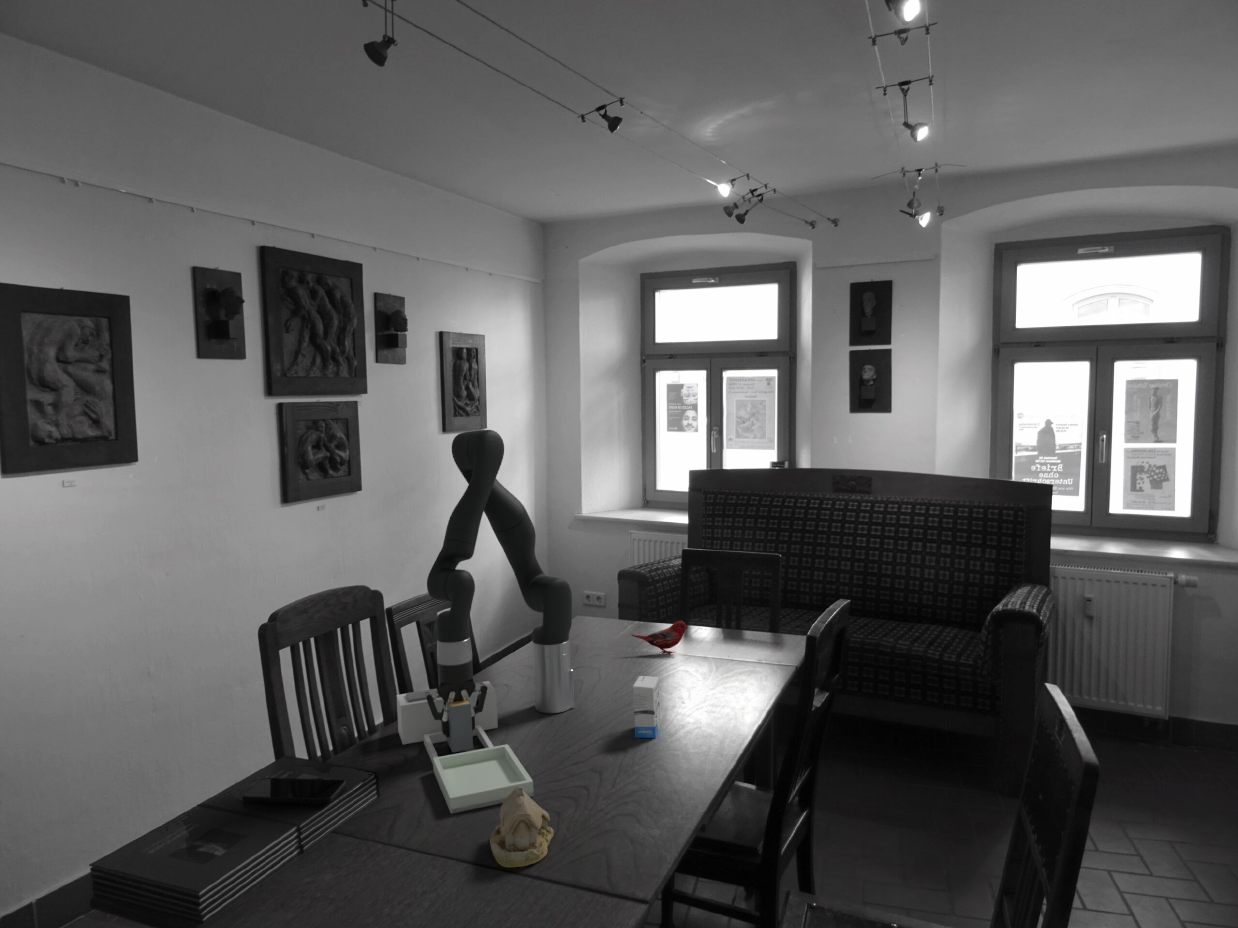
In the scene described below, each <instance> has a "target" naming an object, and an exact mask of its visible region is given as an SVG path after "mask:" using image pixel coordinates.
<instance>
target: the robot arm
mask: <svg viewBox="0 0 1238 928" xmlns="http://www.w3.org/2000/svg"><path fill="white" fill-rule="evenodd" d="M451 454H452V459H453V461H454V463H455V465H456V467H457V468H458V471H459V472H460V473H461V475H462V477H463V478H464V480H465V481H466V483H467V484H468V485H467V486H466V490H465V491H464V493H463V494H462V497H461V498H460V499H459V500H458V502H457V503H456V505H455V507H454V509H453V510H452V512H451V514H450V517H449V519H448V522H447V526H446V529H445V534H444V539H443V544H442V547H441V548H440V549H441V550H440V551H439V553H438V554H437V557H436V559H435V561H434V563H433V565H432V566H431V569H430V571H429V573H428V576H427V579H426V588H427V592H428V594H429V595H428V596H430V597H431V598H432V599H433V600H436V601H443V602H444V601H446V602H451V605H450V609H448V610H445V611H442V612H440V613H439V614H438V615H437V617H436V639H437V641H436V642H437V644H436V645H437V646H436V657H437V659H436V660H437V661H436V662H437V678H438V679H437V680H438V684H437V687H436V688H437V690H435V691H433V692H426V693H425V697H426V699H427V702H428V705H429V707H430V710H431V713H432V715H433V717H434V719H435V720H441V724H442V732H443V734H444V735H445V736H446V737H450V735H449V721H448V716H449V715H448V711H449V709H448V704H451V703H453V702H457V701H463V700H464V701H469V702H470V699H469V698H470V696H471V694H472V693H473V691H474V690H475V689H476V692H477V693H478V696H477V700H476V705H475V706H474V707H472V704H471V702H470V704H471V717H472V733H473V730H475V715H476V714H477V713H479V712H482V711H483V707H484V702H485V698H486V694H487V689H488V688H487V686H486V685H485V684H484V683H481V684H475V681H474V673H473V672H474V671H473V652H472V651H473V650H472V643H471V637H470V636H471V635H470V633H471V632H470V615H471V610H472V606H473V601H474V596H475V591H476V584H475V580H474V577H473V575H472V573H470V572H469V571H468V570H467V569H466V570H465V569H459V568H458V569H457V567H458V566H459V564H460V563H461V562H464V561H468V560H470V559H472V558H473V556H474V554H475V549H476V543H477V539H478V535H479V529H480V526H481V520H482V519H483V514H484V515H485V516H486V518H487V520H488V522H489V524H490V528H491V529H492V531H493V533H494V536H495V537H496V539H497V541H498V543H499V544H500V546H501V548H502V550H503V553H504V554H505V558H507V561H508V563H509V565H510V567H511V569H512V572H513V573H514V576H515V578H516V581H517V584H518V586H519V589H520V593H521V596H522V597H523V600H524V602H525V604H526V606H527V607H528V608H529V609H531V610H532V611H534V612H537V613H542V624H541V625H540V626H537V627H535V628H534V629H533V630H532V633H531V640H532V641H531V642H532V661H533V662H532V663H533V684H534V685H533V688H534V692H533V693H534V709H535V710H536V711H537V712H539V713H542V714H543V713H544V714H559V713H562V712H565V711H568V710H570V709H574V708H575V693H574V692H575V691H574V687H575V686H574V670H573V669H572V668H571V657H570V656H571V655H570V653H571V652H570V632H571V628H572V619H573V618H572V617H573V616H572V615H573V613H572V612H573V598H572V597H573V595H572V589H571V586H570V584H569V582H568V581H567V580H566V579H563V578H560V577H556V576H555V577H554V576H549V575H546V574H545V572H544V571H543V569H542V568H541V566H540V563H539V561H538V560H537V556H536V549H535V548H536V540H537V539H536V529H535V527H534V523H533V522H532V520H531V517H530V515H529V513H528V511H527V509H526V508H525V505H524V504H523V503H522V502H521V501H520V499H518V498H517V497H516V496H515V495H514V494H513V493H511V491H510V490H509V489H507V488H506V487H505V486H504V485H503V484H502V483H501V482H500V481H499V480H498V479H497V476H498V473H499V471H500V468H501V465H502V462H503V459H504V455H505V444H504V440H503V438H502V436H501V435H500V434H499V433H498V432H497V431H495V430H492V429H482V430H471V431H464V432H461V433H458V434H457V435H456V436H454V438H453V440H452V443H451ZM437 695H439V696H440V697H441V698H442V699H443V700H444V701H443V705H442V711H441V713H440V712H438V711H437V709H436V706H435V703H434V702H435V701H436V700H437Z"/></svg>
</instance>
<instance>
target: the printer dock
mask: <svg viewBox="0 0 1238 928" xmlns="http://www.w3.org/2000/svg"><path fill="white" fill-rule="evenodd" d="M474 682H475V681H474ZM481 683H484V684H485V685H486V686H487V688H488V689H487V694H486V698H485V702H484V707H483V711H482V712H479V713H477V714H476V715H475V730H473V733H472V736H473V737H476V736H477V738H478V739H479V742H480V743H481V745H482V746H483V749H485V748H490V747H495V746H494V744H493V743H492V741H491V740H490V738H489V737H488V735H487V733H486V732H485V731H486V730H493V729H498V727H499V725H498V723H499V721H498V699H497V690H496V688H495V687H494V686H493V685H492V683H491V682H490V681H489V680H486V681H476V682H475V684H481ZM435 690H437V687H436V688H431V689H425V690H424V689H423V690H417V691H412V692H406V693H402V694H401V693H400V694H396V708H397V709H396V711H397V727H398V728H397V730H398V734H399V735H398V736H399V738H400V740H401V743H402V745H407V744H414V743H419V742H423V744H424V748H425V749H426V752H427V753H428V757H429V759H430V761H431V764H433V758H436V757H439V756H438V753H437V751H436V749H435V747H434V744H437V743H444V742H447V740H446V736H445V735H444V734H443V732H442V724H441V720H435V719H434V717H433V715H432V713H431V710H430V707H429V705H428V702H427V699H426V697H425V693H426V692H433V691H435ZM477 696H478V693H477V692H476V689H475V690H474V691H473V693H472V694H471V696H470V698H469V699H470V702H471V704H472V707H474V706H475V705H476V700H477ZM443 701H444V700H443V699H442V698H441V697H440V696H439V695H437V700H436V701H435V702H434V703H435V706H436V709H437V711H438V712H440V713H441V711H442V705H443Z"/></svg>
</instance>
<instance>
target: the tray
mask: <svg viewBox="0 0 1238 928" xmlns="http://www.w3.org/2000/svg"><path fill="white" fill-rule="evenodd" d="M432 768H433V771H432V772H433V774H434V777H435V779H436V781H437V784H438V786H439V789H440V791H441V793H442V796H443V798H444V800H445V803H446V805H447V807H448V810H449V812H450V814H456V813H462V812H465V811H471V810H477V809H480V808H485V807H489V806H490V807H491V806H494V805H499V804H503V802H504V801H505V799H506V798H507V797H508V796H509V795H510V794H511V793H512V792H513V790H514V788H515V787H521V788H523V790H524V792H525V793H526V794H527V795H528V796H529V797H530V798H533V797H535V793H534V781H533V779H532V777H531V776H530V775H529V773H528V772H527V770H526V769H525V767H524V766H523V764H522V763H521V762H520V760H519V758H518V757H517V756H516V754H515V753H514V751H513V749H512V748H511V746H510V745H509V744H508V743H506V744H502V745H496V746H494V747H490V748H479V749H473V750H467V751H465V752H464V751H462V752H459V753H457V752H456V753H454V754H453V753H452V754H447V755H443V756H438V757H436V758H433V763H432Z"/></svg>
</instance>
